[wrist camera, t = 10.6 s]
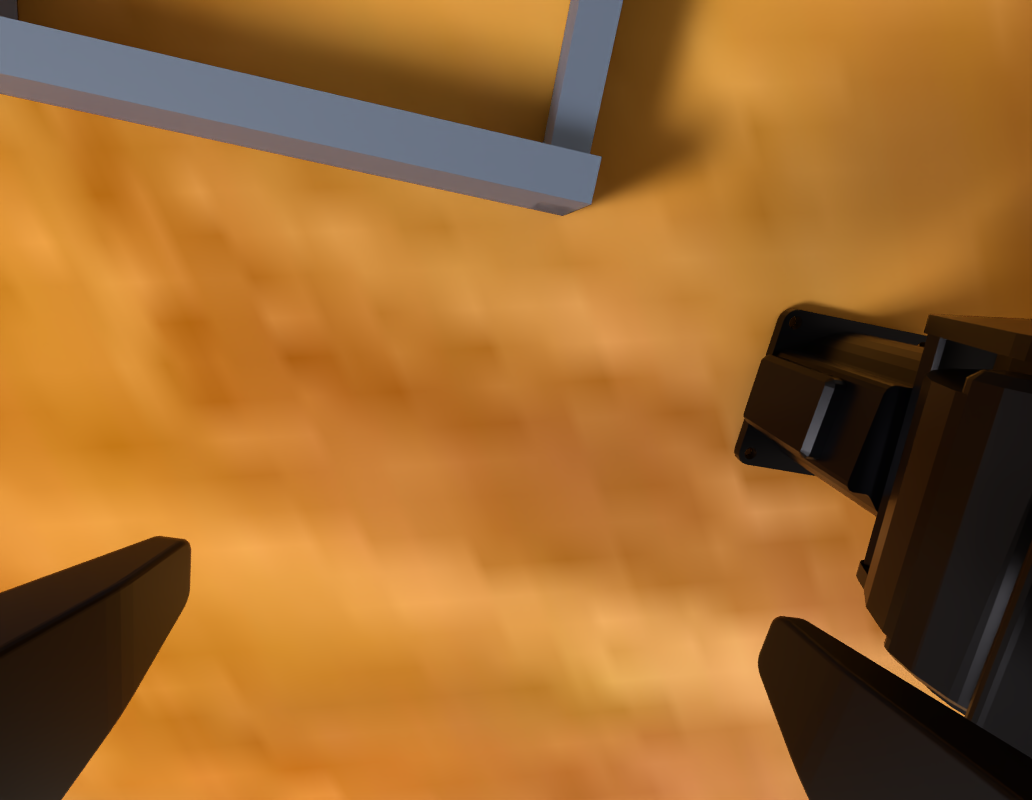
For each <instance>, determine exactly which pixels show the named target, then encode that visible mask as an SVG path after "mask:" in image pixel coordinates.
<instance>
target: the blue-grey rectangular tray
mask: <svg viewBox="0 0 1032 800" xmlns="http://www.w3.org/2000/svg"><path fill="white" fill-rule="evenodd" d="M622 3H623V0H571V2H570V7H569V12H568V17H567V22H566V27H565V33H564V38H563V43H562V48H561V53H560V59H559V64H558V69H557V74H556V79H555V84H554V90H553V95H552V100H551V105H550V110H549V116H548V121H547V126H546V131H545V136H544V141H543V143H541V142H537V141H532V140H528V139H524V138H519V137H515V136H511V135H507V134H502V133H498V132H494V131H489V130H485V129H481V128H477V127H472V126H468V125H464V124H459V123H455V122H451V121H447V120H442V119H438V118H434V117H430V116H425V115H421V114H417V113H412V112H408V111H404V110H400V109H395V108H391V107H387V106H382V105H378V104H374V103H370V102H365V101H361V100H357V99H352V98H348V97H344V96H340V95H335V94H331V93H327V92H323V91H318V90H314V89H310V88H305V87H301V86H297V85H293V84H288V83H284V82H280V81H275V80H271V79H267V78H263V77H258V76H254V75H250V74H246V73H241V72H237V71H233V70H228V69H224V68H220V67H216V66H211V65H207V64H203V63H198V62H194V61H190V60H186V59H181V58H177V57H173V56H168V55H164V54H160V53H156V52H151V51H147V50H143V49H139V48H134V47H130V46H126V45H121V44H117V43H113V42H109V41H104V40H100V39H96V38H91V37H87V36H83V35H79V34H74V33H70V32H66V31H61V30H57V29H53V28H49V27H44V26H40V25H36V24H32V23H27V22H23V21H19V20H18V14H17V0H0V94H5V95H9V96H14V97H18V98H23V99H28V100H32V101H37V102H41V103H46V104H51V105H55V106H60V107H64V108H69V109H74V110H78V111H83V112H87V113H92V114H97V115H101V116H106V117H110V118H115V119H120V120H124V121H129V122H133V123H138V124H143V125H147V126H152V127H156V128H161V129H166V130H170V131H175V132H179V133H184V134H189V135H193V136H198V137H202V138H207V139H212V140H216V141H221V142H225V143H230V144H235V145H239V146H244V147H248V148H253V149H258V150H262V151H267V152H271V153H276V154H281V155H285V156H290V157H294V158H299V159H304V160H308V161H313V162H317V163H322V164H327V165H331V166H336V167H340V168H345V169H350V170H354V171H359V172H363V173H368V174H373V175H377V176H382V177H386V178H391V179H396V180H400V181H405V182H409V183H414V184H419V185H423V186H428V187H432V188H437V189H442V190H446V191H451V192H455V193H460V194H465V195H469V196H474V197H478V198H483V199H488V200H492V201H497V202H501V203H506V204H511V205H515V206H520V207H524V208H529V209H534V210H538V211H543V212H547V213H552V214H557V215H561V216H563V215H566V214H568V213H571V212H573V211H576V210H578V209H581V208H583V207H586V206H588V205H591V203H592V198H593V194H594V189H595V185H596V180H597V176H598V171H599V167H600V162H601V158H602V157H601V156H596V155H592V154H590V151H591V146H592V141H593V137H594V132H595V127H596V123H597V118H598V114H599V109H600V104H601V100H602V95H603V91H604V86H605V81H606V77H607V72H608V67H609V63H610V58H611V54H612V49H613V44H614V40H615V35H616V31H617V26H618V21H619V17H620V12H621V7H622Z"/></svg>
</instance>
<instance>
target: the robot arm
mask: <svg viewBox="0 0 1032 800" xmlns="http://www.w3.org/2000/svg"><path fill="white" fill-rule="evenodd" d="M794 316H795V318H796V323H795V324H794V326H792V327H791V328H790V326H789V321H790V320H791V318H793V317H794ZM924 333H927V334H928V336H924V335H919V334H914V333H909V332H904V331H900V330H895V329H890V328H885V327H880V326H875V325H871V324H866V323H861V322H856V321H851V320H846V319H842V318H837V317H832V316H827V315H822V314H817V313H813V312H808V311H803V310H798V309H787V310H785V311H784V312H782V313H781V314H780V316H779V318H778V320H777V323H776V326H775V329H774V332H773V335H772V338H771V341H770V344H769V347H768V350H767V353H766V356H765V357H764V358H763V359H762V360H761V363H760V366H759V369H758V372H757V375H756V378H755V381H754V384H753V387H752V390H751V393H750V396H749V399H748V402H747V405H746V408H745V411H744V418H745V419H744V422H743V425H742V428H741V431H740V434H739V437H738V440H737V443H736V446H735V450H734V453H735V456H736V457H737V458H738V459H739V460H740V461H741V462H742V463H744V464H747V465H753V466H759V467H765V468H771V469H777V470H783V471H789V472H795V473H801V474H807V475H813V476H817V477H818V478H820V479H821V480H823V481H824V482H826V483H827V484H829V485H830V486H832V487H833V488H835V489H836V490H838V491H839V492H841V493H842V494H844V495H845V496H847V497H848V498H850V499H851V500H853V501H854V502H856V503H857V504H858V505H860V506H861V507H863V508H864V509H866V510H867V511H869V512H870V513H872V514H873V515H875V516H876V521H875V524H874V528H873V531H872V535H871V538H870V542H869V546H868V549H867V553H866V556H865V560H861V561H860V564H859V567H858V571H857V574H856V576H857V579H858V580H859V582H860V584H861V585H862V587H863V589H864V595H865V603H866V608H867V609H868V611H869V612H870V614H871V615H872V617H873V618H874V620H875V621H876V623H877V624H878V626H879V627H880V629H881V630H882V631H883V633H884V634H885V635H886V639H885V642H884V647H885V648H886V650H887V651H888V652H889V653H890V655H891V656H892V657H893V658H894V659H895V660H896V661H897V662H898V663H899V664H901V665H902V666H903V667H904V668H905V669H906V670H907V671H908V672H910V673H911V674H912V675H913V676H914V677H915V678H916V679H918V680H919V681H920V682H922V683H923V684H924V685H925V686H926V687H927V688H928V689H930V690H931V691H932V692H933V693H934V694H935V695H937V696H938V697H939V698H941V699H942V700H943V701H945V702H946V703H947V704H948V705H950V706H951V707H953V708H954V709H956V710H957V711H959V712H961V713H962V714H964V715H965V717H963V716H962V715H960V714H958V713H957V712H955V711H953V710H952V709H950V708H949V707H947V706H945V705H944V704H942V703H940V702H939V701H937V700H935V699H934V698H932V697H931V696H929V695H927V694H926V693H924V692H922V691H921V690H919V689H917V688H916V687H914V686H913V685H911V684H909V683H908V682H906V681H904V680H903V679H901V678H899V677H898V676H896V675H894V674H893V673H891V672H890V671H888V670H886V669H885V668H883V667H881V666H880V665H878V664H876V663H875V662H873V661H872V660H870V659H868V658H867V657H865V656H863V655H862V654H860V653H858V652H857V651H855V650H854V649H852V648H850V647H849V646H847V645H845V644H844V643H842V642H840V641H839V640H837V639H836V638H834V637H832V636H831V635H829V634H827V633H826V632H824V631H822V630H821V629H819V628H818V627H816V626H814V625H813V624H811V623H809V622H808V621H806V620H804V619H801V618H793V617H785V616H779V617H777V618H775V619H774V620H773V622H772V623H771V626H770V628H769V631H768V633H767V636H766V639H765V641H764V644H763V646H762V649H761V651H760V654H759V658H758V668H759V673H760V676H761V679H762V682H763V684H764V687H765V690H766V692H767V695H768V698H769V700H770V703H771V706H772V708H773V711H774V714H775V716H776V719H777V722H778V724H779V727H780V730H781V732H782V735H783V738H784V740H785V743H786V746H787V748H788V751H789V754H790V756H791V759H792V761H793V764H794V766H795V769H796V771H797V774H798V776H799V779H800V781H801V783H802V785H803V787H804V790H805V792H806V794H807V796H808V798H809V800H1032V319H1019V318H999V317H979V316H959V315H939V314H929V316H928V319H927V323H926V327H925V330H924ZM918 344H920V346H917V345H918ZM749 448H752V451H751V452H750V454H748V455H745V451H746V450H747V449H749ZM190 570H191V547H190V543H189V542H188V541H187V540H185V539H179V538H171V537H163V536H156V537H152V538H150V539H147V540H144V541H141V542H139V543H136V544H133V545H130V546H128V547H125V548H122V549H119V550H117V551H114V552H111V553H108V554H106V555H103V556H100V557H97V558H95V559H92V560H89V561H86V562H84V563H81V564H78V565H75V566H72V567H70V568H67V569H64V570H61V571H59V572H56V573H53V574H50V575H48V576H45V577H42V578H39V579H37V580H34V581H31V582H28V583H26V584H23V585H20V586H17V587H15V588H12V589H9V590H6V591H4V592H1V593H0V800H62V798H63V797H64V795H65V794H66V793H67V791H68V790H69V788H70V787H71V786H72V784H73V783H74V781H75V780H76V779H77V777H78V776H79V774H80V773H81V772H82V770H83V769H84V767H85V766H86V765H87V763H88V762H89V760H90V759H91V758H92V756H93V755H94V753H95V752H96V751H97V749H98V748H99V746H100V745H101V744H102V742H103V741H104V739H105V738H106V737H107V735H108V734H109V732H110V731H111V729H112V728H113V726H114V725H115V723H116V722H117V721H118V719H119V718H120V716H121V715H122V713H123V712H124V710H125V708H126V707H127V705H128V703H129V702H130V700H131V698H132V697H133V695H134V693H135V692H136V690H137V688H138V687H139V685H140V683H141V681H142V680H143V678H144V676H145V674H146V673H147V671H148V669H149V667H150V666H151V664H152V662H153V661H154V659H155V657H156V655H157V654H158V652H159V650H160V648H161V647H162V645H163V643H164V642H165V640H166V638H167V636H168V635H169V633H170V631H171V629H172V628H173V626H174V624H175V623H176V621H177V619H178V617H179V616H180V614H181V612H182V610H183V609H184V607H185V605H186V602H187V600H188V596H189V592H190Z"/></svg>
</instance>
